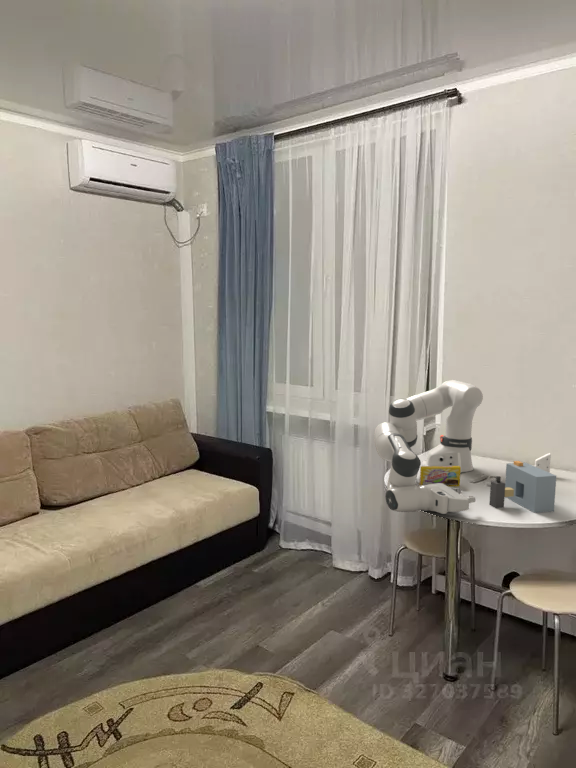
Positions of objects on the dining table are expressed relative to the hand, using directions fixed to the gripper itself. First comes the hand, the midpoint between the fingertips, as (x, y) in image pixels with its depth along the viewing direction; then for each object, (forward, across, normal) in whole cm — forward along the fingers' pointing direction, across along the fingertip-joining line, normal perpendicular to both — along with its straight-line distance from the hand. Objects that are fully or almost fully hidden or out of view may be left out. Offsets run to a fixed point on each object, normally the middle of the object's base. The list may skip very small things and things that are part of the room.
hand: (467, 494), depth 210 cm
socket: (+25, 0, -5) cm, 26 cm away
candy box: (+3, -26, -5) cm, 27 cm away
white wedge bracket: (+53, -32, -5) cm, 62 cm away
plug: (+14, 0, -5) cm, 15 cm away
